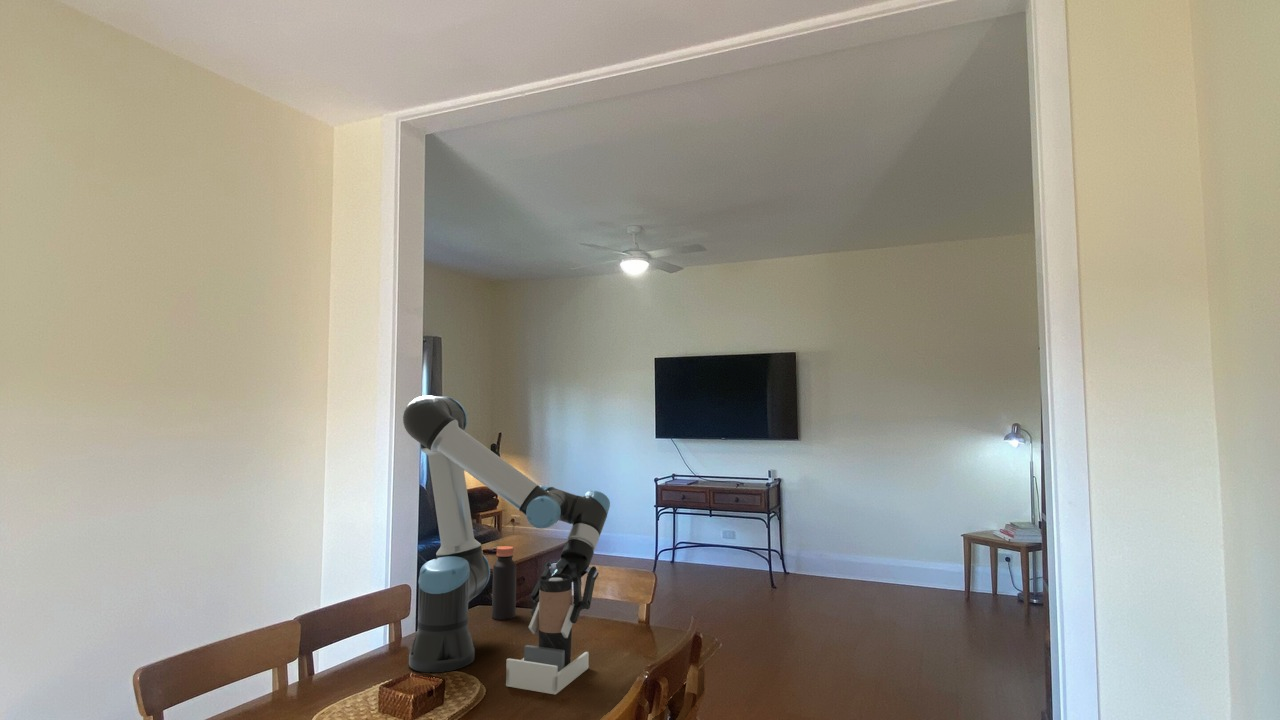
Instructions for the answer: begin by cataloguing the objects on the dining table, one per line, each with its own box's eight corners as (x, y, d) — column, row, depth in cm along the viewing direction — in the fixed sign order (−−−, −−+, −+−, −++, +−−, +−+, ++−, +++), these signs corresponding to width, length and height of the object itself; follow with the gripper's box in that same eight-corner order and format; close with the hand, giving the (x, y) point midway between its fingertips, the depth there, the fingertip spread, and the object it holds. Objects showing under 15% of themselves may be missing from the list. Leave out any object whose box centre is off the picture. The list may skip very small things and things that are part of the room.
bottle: (487, 616, 194) (489, 547, 196) (507, 612, 198) (509, 544, 200) (499, 622, 189) (500, 550, 191) (519, 617, 193) (521, 547, 195)
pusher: (523, 674, 148) (524, 646, 149) (527, 671, 149) (527, 644, 150) (561, 680, 145) (562, 651, 145) (564, 677, 146) (565, 649, 146)
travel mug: (565, 674, 147) (566, 582, 148) (533, 671, 148) (534, 580, 150) (575, 661, 154) (576, 574, 156) (544, 659, 156) (545, 572, 157)
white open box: (506, 686, 144) (506, 659, 144) (542, 661, 158) (543, 637, 159) (555, 694, 139) (555, 667, 140) (588, 668, 154) (588, 643, 154)
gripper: (621, 558, 164) (593, 646, 147) (549, 552, 171) (514, 635, 155) (613, 540, 159) (583, 629, 143) (539, 535, 167) (502, 618, 150)
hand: (547, 632), depth 149 cm, fingers closed on travel mug, 7 cm apart
